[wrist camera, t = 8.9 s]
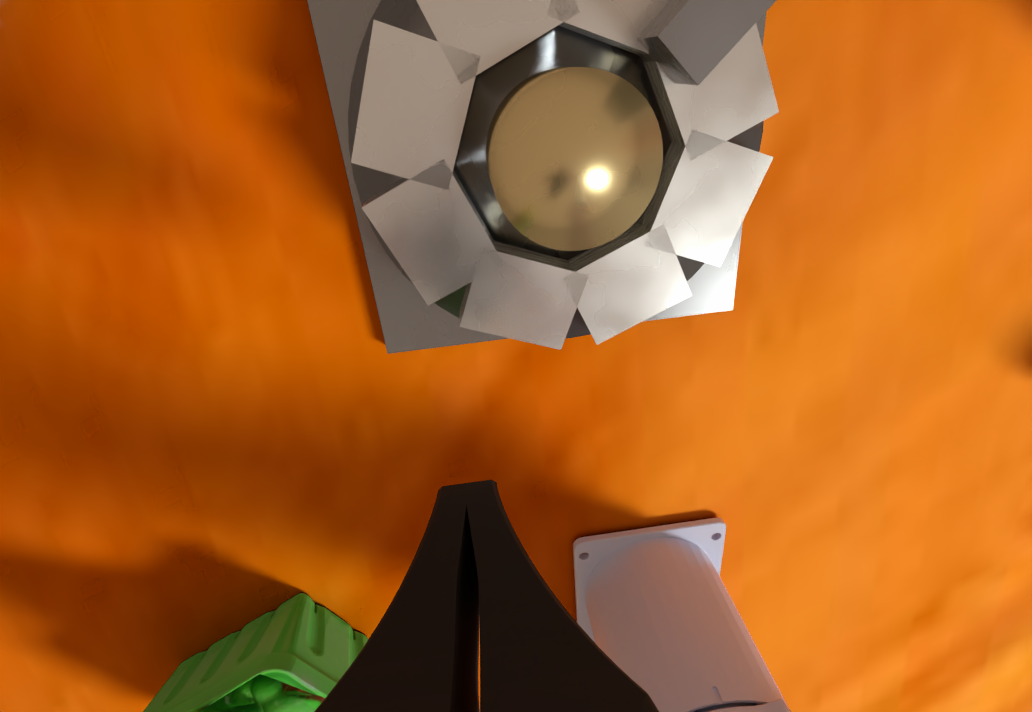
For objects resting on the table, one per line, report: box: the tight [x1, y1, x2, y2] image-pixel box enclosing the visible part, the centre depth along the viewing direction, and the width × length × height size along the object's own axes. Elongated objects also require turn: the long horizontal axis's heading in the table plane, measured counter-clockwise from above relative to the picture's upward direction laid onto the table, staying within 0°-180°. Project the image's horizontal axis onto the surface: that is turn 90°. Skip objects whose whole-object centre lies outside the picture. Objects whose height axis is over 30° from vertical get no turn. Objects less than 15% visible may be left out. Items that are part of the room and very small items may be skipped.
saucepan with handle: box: [351, 0, 779, 350], centre depth 15 cm, size 12×18×3 cm
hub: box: [307, 0, 766, 354], centre depth 17 cm, size 14×14×5 cm
